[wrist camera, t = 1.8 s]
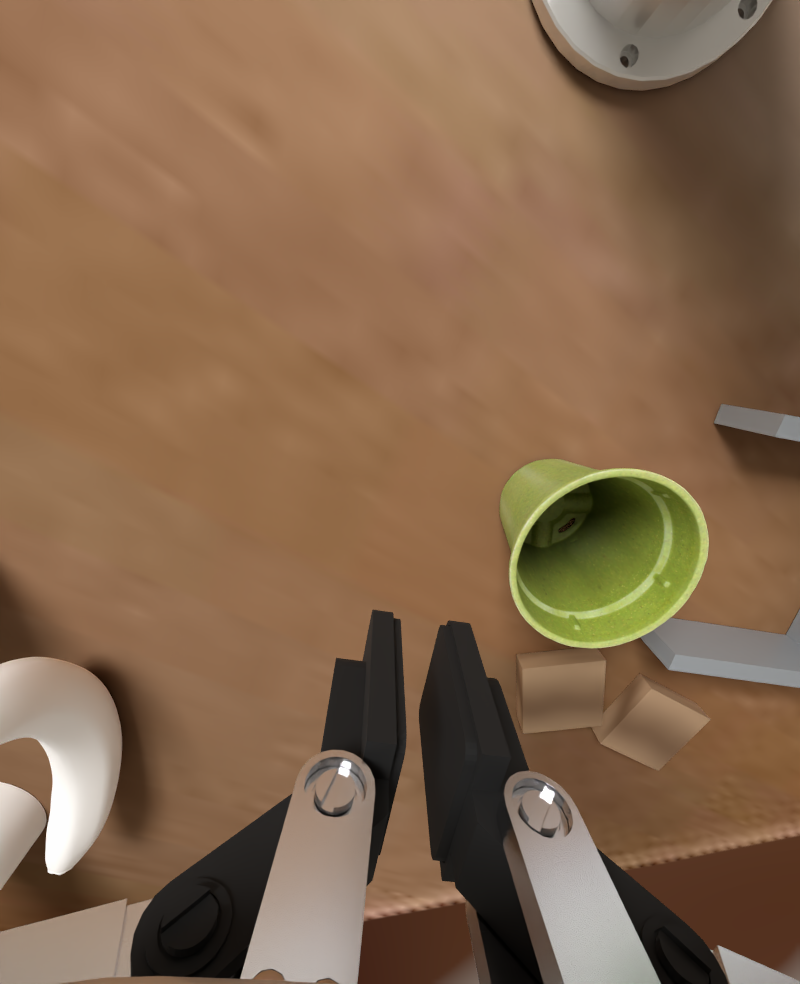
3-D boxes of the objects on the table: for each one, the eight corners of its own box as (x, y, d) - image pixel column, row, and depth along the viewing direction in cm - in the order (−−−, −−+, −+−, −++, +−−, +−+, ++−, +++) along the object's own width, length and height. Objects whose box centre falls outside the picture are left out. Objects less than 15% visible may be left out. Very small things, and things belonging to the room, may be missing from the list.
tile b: (636, 669, 33) (651, 688, 32) (692, 699, 35) (710, 719, 33) (588, 722, 35) (600, 743, 33) (644, 748, 36) (658, 771, 34)
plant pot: (644, 496, 28) (749, 556, 20) (540, 591, 31) (597, 680, 22) (550, 401, 26) (624, 425, 18) (444, 510, 28) (468, 576, 20)
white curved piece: (93, 802, 36) (-95, 1093, 22) (29, 603, 30) (-287, 827, 16) (153, 800, 36) (5, 1088, 22) (101, 601, 30) (-148, 822, 16)
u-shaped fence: (721, 403, 27) (785, 414, 22) (909, 440, 28) (1004, 457, 24) (630, 626, 32) (668, 669, 27) (792, 650, 33) (853, 695, 29)
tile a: (514, 650, 33) (522, 668, 31) (593, 642, 33) (606, 660, 31) (515, 712, 34) (523, 733, 33) (590, 705, 34) (601, 725, 33)
